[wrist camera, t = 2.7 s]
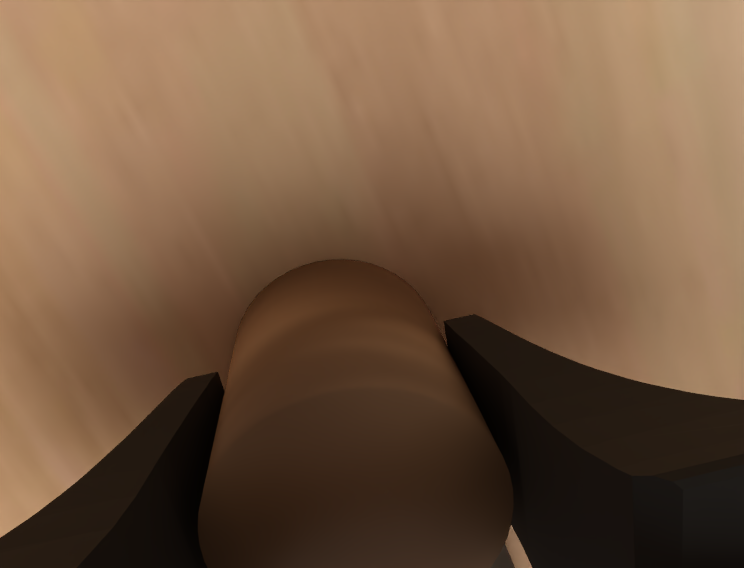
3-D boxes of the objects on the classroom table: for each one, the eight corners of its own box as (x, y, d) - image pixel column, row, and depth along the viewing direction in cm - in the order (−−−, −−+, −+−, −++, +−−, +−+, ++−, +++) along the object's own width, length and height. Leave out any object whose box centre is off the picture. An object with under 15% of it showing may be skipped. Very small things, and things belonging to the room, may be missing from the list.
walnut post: (420, 238, 12) (495, 353, 8) (450, 416, 14) (526, 599, 9) (208, 285, 12) (152, 432, 7) (264, 459, 14) (246, 667, 9)
